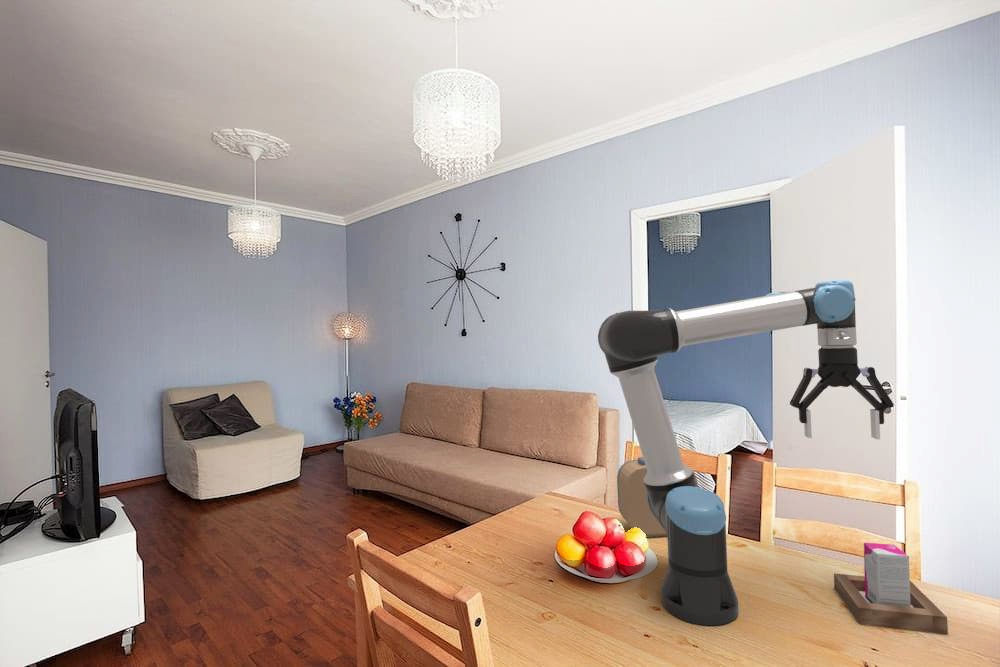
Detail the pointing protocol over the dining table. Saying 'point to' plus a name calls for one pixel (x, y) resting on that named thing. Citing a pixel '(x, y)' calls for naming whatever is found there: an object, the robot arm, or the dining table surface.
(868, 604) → the socket block
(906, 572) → the supplement box
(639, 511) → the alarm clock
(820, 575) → the dining table surface
